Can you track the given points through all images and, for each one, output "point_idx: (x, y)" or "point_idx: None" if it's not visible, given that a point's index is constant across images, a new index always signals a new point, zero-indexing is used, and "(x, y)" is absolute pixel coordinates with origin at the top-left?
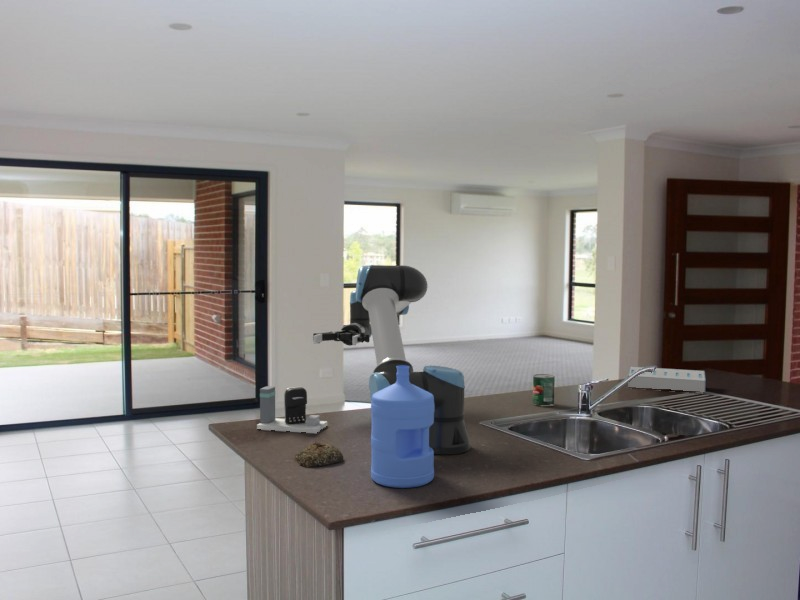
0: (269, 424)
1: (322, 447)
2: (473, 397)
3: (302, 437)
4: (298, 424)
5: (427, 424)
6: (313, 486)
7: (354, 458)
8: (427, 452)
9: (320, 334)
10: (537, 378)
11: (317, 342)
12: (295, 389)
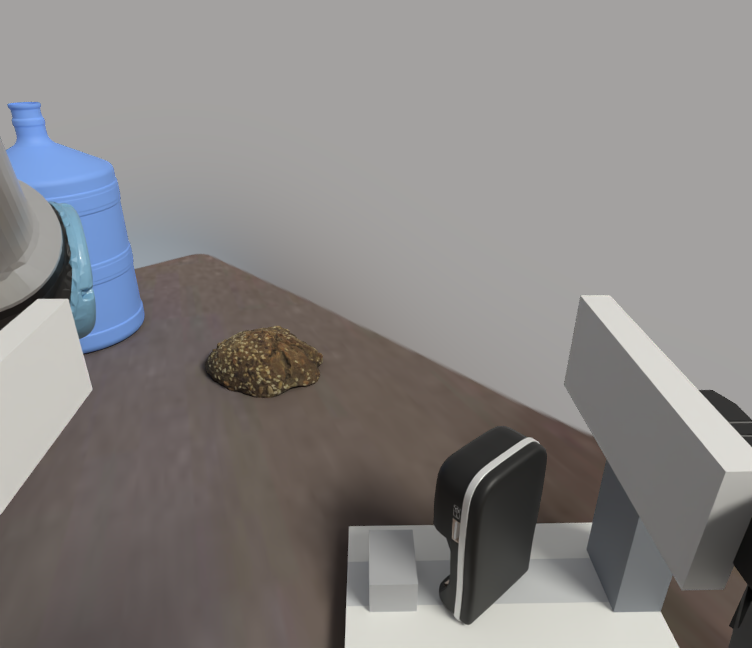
0: (572, 538)
1: (251, 333)
2: None
3: (380, 491)
4: None
5: None
6: (245, 296)
7: (179, 384)
8: None
9: (670, 408)
10: None
11: (588, 417)
12: (482, 435)
